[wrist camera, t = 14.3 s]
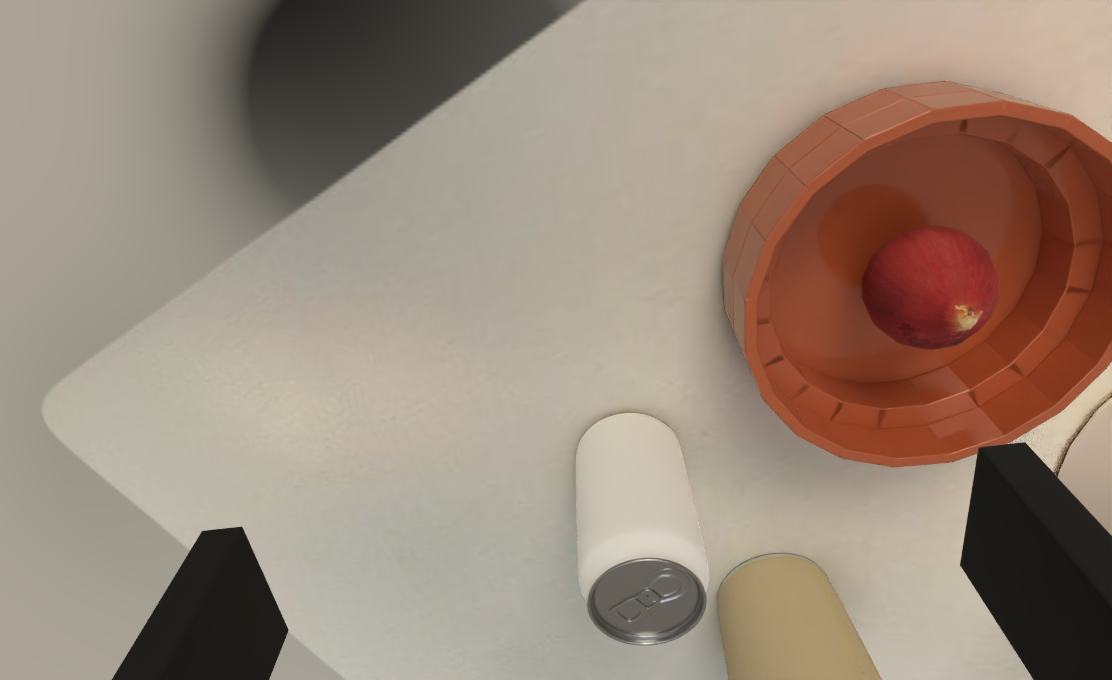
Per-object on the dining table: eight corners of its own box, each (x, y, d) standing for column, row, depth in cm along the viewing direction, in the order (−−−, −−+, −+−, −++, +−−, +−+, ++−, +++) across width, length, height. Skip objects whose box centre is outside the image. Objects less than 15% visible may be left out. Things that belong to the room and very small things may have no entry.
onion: (952, 299, 40) (1035, 373, 33) (843, 318, 41) (901, 395, 33) (955, 196, 37) (1046, 252, 30) (839, 218, 38) (902, 278, 31)
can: (702, 453, 46) (744, 605, 35) (624, 511, 48) (641, 670, 37) (631, 389, 43) (652, 529, 33) (553, 452, 46) (549, 603, 35)
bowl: (717, 105, 36) (743, 131, 31) (1106, 58, 35) (1204, 76, 30) (723, 418, 44) (745, 481, 39) (1038, 388, 43) (1105, 449, 38)
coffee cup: (744, 660, 54) (788, 833, 43) (679, 580, 50) (710, 748, 40) (864, 608, 51) (943, 779, 41) (805, 521, 48) (874, 683, 37)
